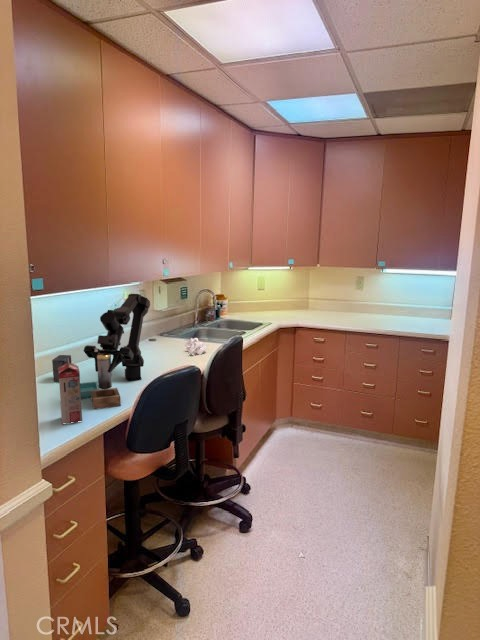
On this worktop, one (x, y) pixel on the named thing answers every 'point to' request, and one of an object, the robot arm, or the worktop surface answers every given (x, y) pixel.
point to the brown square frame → (105, 398)
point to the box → (59, 365)
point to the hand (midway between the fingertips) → (102, 371)
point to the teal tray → (88, 389)
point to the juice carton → (70, 393)
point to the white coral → (195, 346)
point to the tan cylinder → (104, 370)
